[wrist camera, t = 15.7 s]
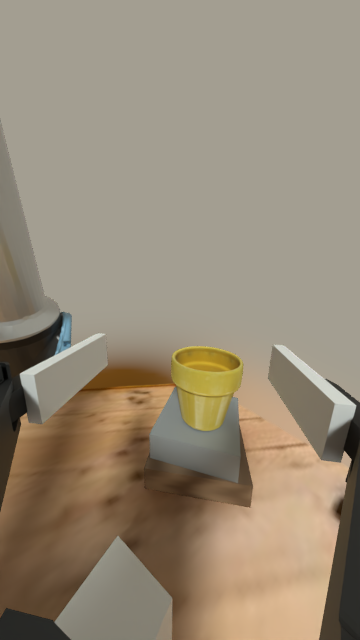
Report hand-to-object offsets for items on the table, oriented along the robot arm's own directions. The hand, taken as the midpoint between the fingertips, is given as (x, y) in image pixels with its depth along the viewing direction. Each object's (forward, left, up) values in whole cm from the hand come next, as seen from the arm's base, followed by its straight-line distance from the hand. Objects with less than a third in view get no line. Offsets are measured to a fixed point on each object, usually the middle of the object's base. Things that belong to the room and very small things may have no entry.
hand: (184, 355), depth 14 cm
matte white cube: (-4, -6, -23) cm, 24 cm away
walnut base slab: (+1, +13, -23) cm, 26 cm away
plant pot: (+2, +12, -15) cm, 19 cm away
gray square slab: (+1, +13, -19) cm, 23 cm away
